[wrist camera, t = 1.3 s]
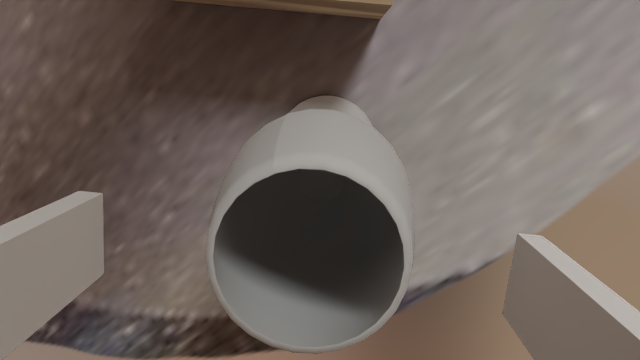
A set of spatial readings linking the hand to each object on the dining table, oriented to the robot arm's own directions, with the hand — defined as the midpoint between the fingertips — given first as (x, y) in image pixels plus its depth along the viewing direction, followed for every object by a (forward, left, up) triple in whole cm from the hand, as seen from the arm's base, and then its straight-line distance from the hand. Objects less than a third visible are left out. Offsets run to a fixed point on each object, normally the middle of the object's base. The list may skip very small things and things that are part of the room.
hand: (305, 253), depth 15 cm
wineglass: (0, 0, -20) cm, 20 cm away
